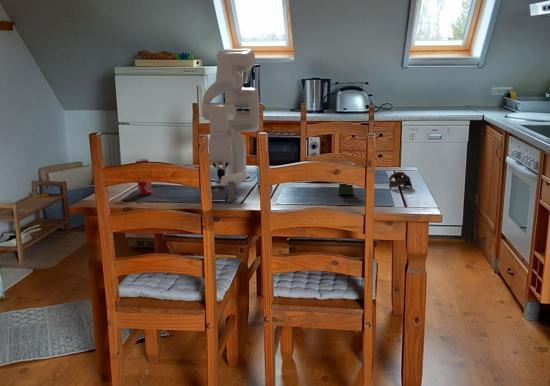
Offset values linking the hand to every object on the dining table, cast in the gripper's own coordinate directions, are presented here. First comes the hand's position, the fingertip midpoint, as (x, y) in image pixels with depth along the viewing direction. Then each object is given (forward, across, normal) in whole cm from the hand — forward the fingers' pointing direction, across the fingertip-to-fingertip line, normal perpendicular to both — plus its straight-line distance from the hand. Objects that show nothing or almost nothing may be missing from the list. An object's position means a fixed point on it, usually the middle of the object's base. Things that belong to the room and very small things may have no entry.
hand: (221, 178), depth 245 cm
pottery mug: (+7, -76, -5) cm, 77 cm away
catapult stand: (+7, -5, +7) cm, 11 cm away
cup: (+7, +1, +7) cm, 10 cm away
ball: (+5, +2, +7) cm, 9 cm away
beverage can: (+7, +33, -6) cm, 35 cm away
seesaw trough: (0, -5, +4) cm, 6 cm away
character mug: (+7, -52, +5) cm, 52 cm away
